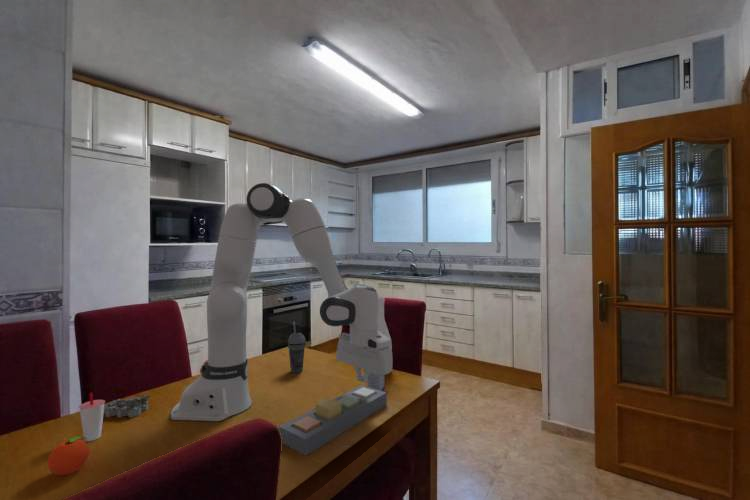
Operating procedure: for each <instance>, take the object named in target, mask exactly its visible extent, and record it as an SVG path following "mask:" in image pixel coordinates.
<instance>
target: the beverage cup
mask: <svg viewBox="0 0 750 500" xmlns="http://www.w3.org/2000/svg"><path fill="white" fill-rule="evenodd" d="M293 331H294V332H293V333H291V334H290V335H289V337H288V339H287V347H288V353H289V355H288V356H289V365H290V366H289V367H290V372H291V373H292V372H293V373H292V374H299V372H300V373H302V372H303V367H304V360H305V359H304V358H305V357H304V356H305V347H306V343H307V341H306V337H305V335H304V334H303V333H301V332H299V331H296V323H295V321H293Z"/></svg>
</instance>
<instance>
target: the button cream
mask: <svg viewBox="0 0 750 500" xmlns="http://www.w3.org/2000/svg"><path fill="white" fill-rule="evenodd" d="M375 394H376V391H374V390H370V389H367V388H364V387H363V388H361V389H359V390H357V391H355V392H353V395H354V396H357V397H360V398H363V399H368V398H370V397H372V396H373V395H375Z"/></svg>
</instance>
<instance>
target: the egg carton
mask: <svg viewBox="0 0 750 500" xmlns="http://www.w3.org/2000/svg"><path fill="white" fill-rule="evenodd" d="M150 398H151V395H148V394H147V395H141V396H140V397H135V398H126V399H122V398H117V399H113V400H112V401H110V402H107V403H106V404H104V411H105V417H106V418H110V416H111V417H114V416H117V418H122V416H123V417H125V416H128V418H135V417H137V416H140V415H142V412H144V411H148V410H149V400H150Z"/></svg>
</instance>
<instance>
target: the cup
mask: <svg viewBox="0 0 750 500" xmlns="http://www.w3.org/2000/svg"><path fill="white" fill-rule="evenodd" d="M93 395H94V394H93V392H90V393H89V401H86V402H84V403H81V404H80V405H78V408H79V413H80V414H79V415H80V421H81V429H82V435H83V436H82V437H86V438H87V440H86V439H85V438H83V441H84V442H93V441H95V440H98V439H99V438H101V436H102V431H103V430H102V427H103V419H104V411H105V407H104V405H105V403H106V400H104V399H95V400H94V399H93V397H94V396H93Z"/></svg>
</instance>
